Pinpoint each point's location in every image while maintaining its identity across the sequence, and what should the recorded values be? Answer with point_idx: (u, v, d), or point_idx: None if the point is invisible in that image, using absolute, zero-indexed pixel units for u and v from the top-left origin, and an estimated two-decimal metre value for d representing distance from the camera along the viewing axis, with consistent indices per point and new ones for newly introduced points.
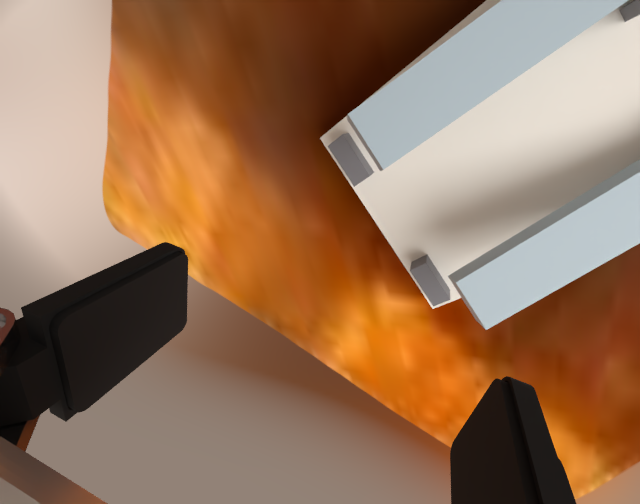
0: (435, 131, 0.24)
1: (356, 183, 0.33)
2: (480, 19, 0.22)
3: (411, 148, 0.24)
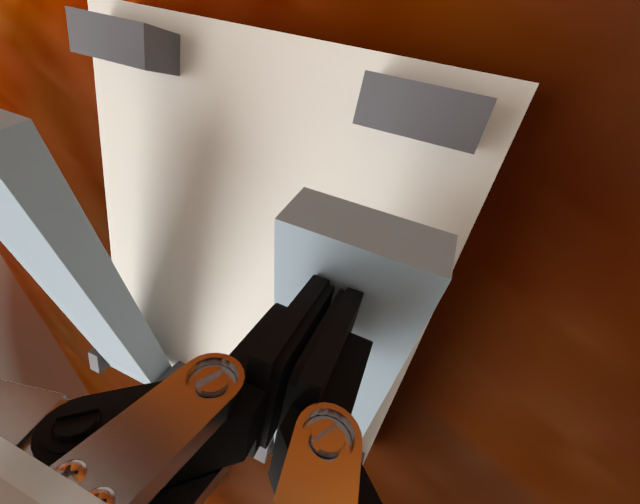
0: None
1: (366, 81, 0.13)
2: (361, 431, 0.15)
3: (277, 280, 0.11)
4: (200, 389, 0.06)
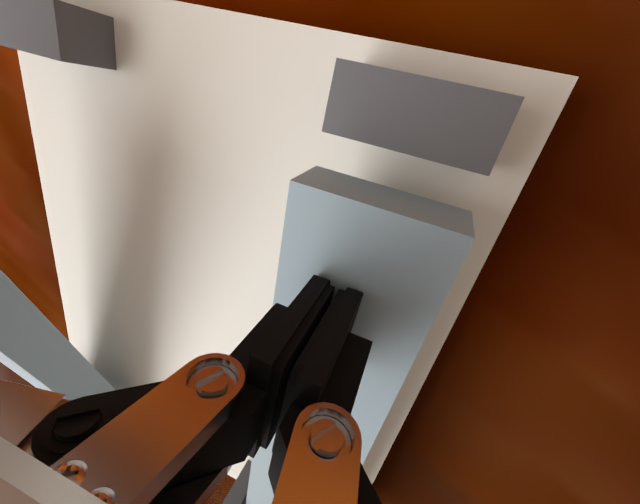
0: None
1: (338, 74, 0.09)
2: None
3: (282, 259, 0.10)
4: (200, 389, 0.06)
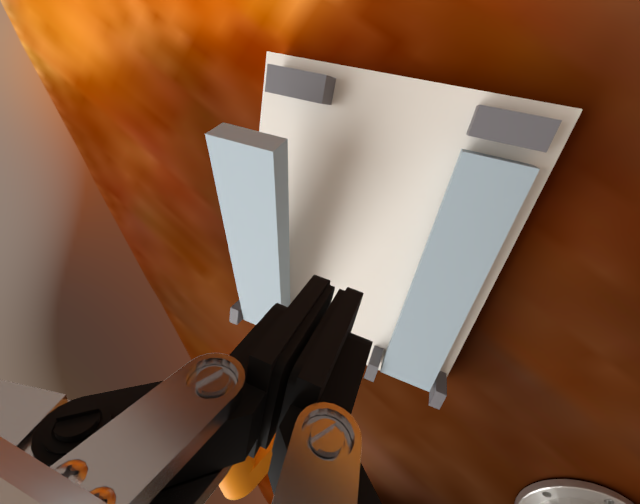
0: (441, 214, 0.24)
1: (479, 111, 0.21)
2: (471, 301, 0.26)
3: (450, 187, 0.23)
4: (200, 389, 0.06)
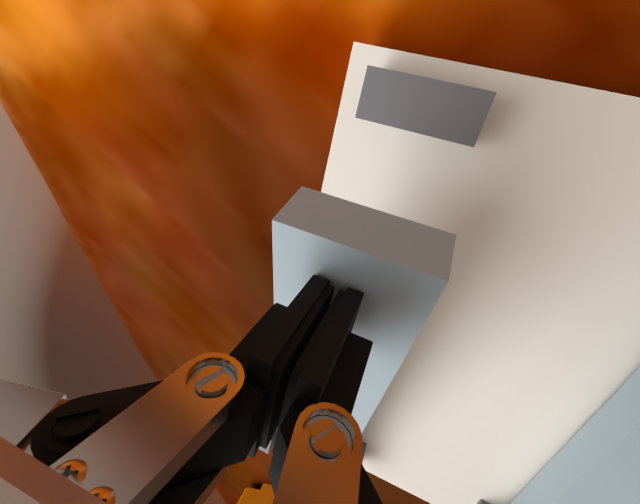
0: None
1: None
2: None
3: None
4: (200, 389, 0.06)
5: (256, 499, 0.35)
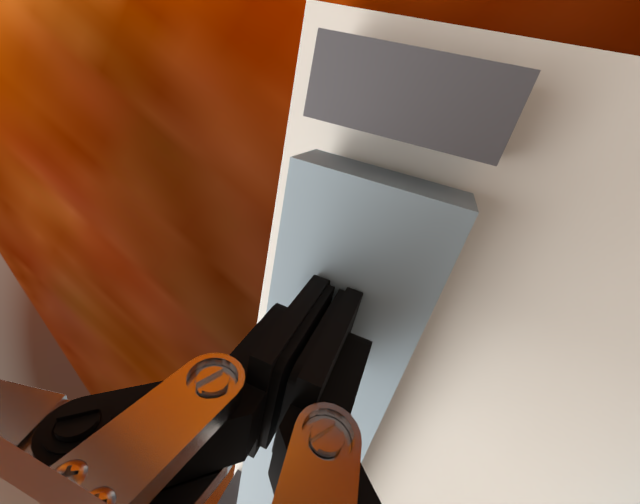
0: None
1: None
2: None
3: None
4: (200, 389, 0.06)
5: None
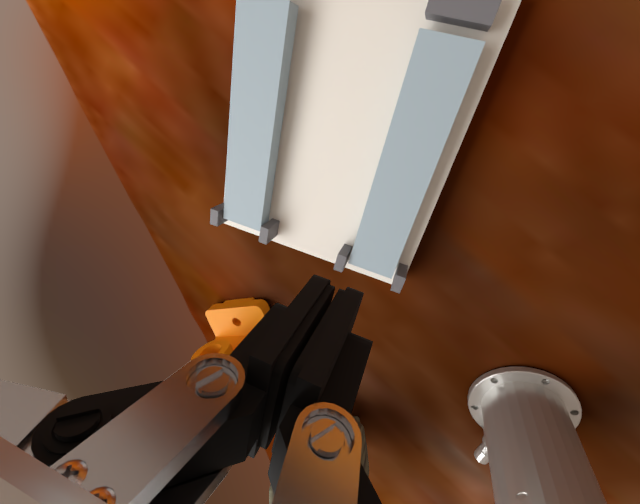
0: (401, 94, 0.27)
1: None
2: (427, 182, 0.29)
3: (409, 66, 0.26)
4: (200, 389, 0.06)
5: (219, 306, 0.50)
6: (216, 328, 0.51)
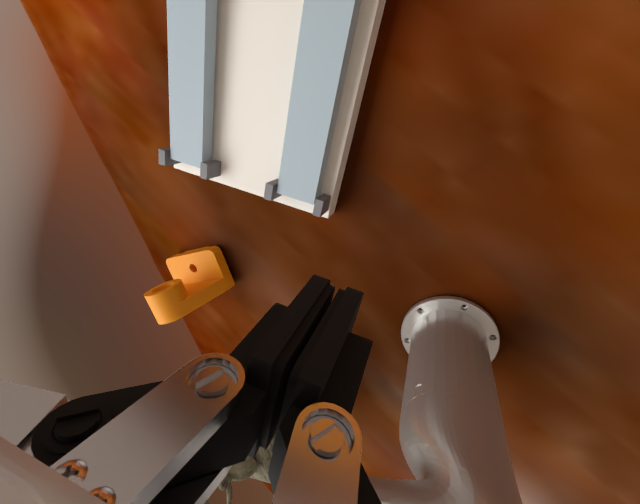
0: (301, 26, 0.31)
1: None
2: (331, 107, 0.33)
3: None
4: (201, 389, 0.06)
5: (179, 255, 0.54)
6: (176, 276, 0.55)
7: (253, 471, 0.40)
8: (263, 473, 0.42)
